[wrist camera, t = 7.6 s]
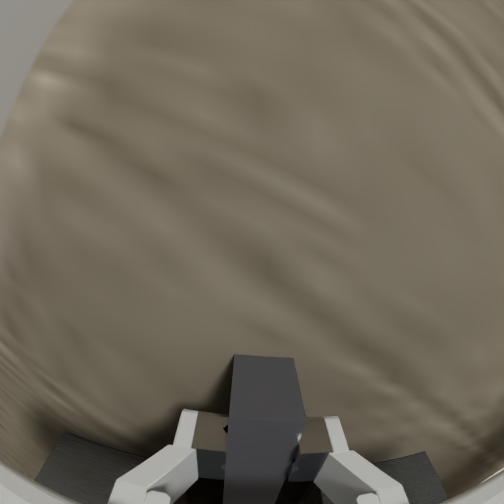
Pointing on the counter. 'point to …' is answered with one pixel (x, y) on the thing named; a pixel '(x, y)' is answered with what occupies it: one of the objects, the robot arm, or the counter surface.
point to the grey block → (119, 463)
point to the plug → (261, 428)
